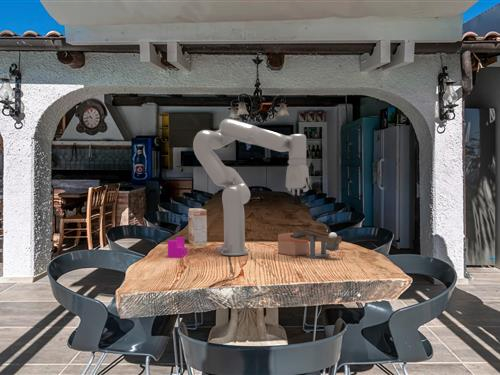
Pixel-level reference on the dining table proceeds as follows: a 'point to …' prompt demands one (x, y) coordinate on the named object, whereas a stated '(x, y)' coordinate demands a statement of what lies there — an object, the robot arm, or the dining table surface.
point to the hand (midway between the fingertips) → (297, 204)
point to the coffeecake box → (197, 226)
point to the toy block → (176, 248)
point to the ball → (332, 235)
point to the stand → (312, 250)
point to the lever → (319, 238)
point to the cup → (292, 245)
